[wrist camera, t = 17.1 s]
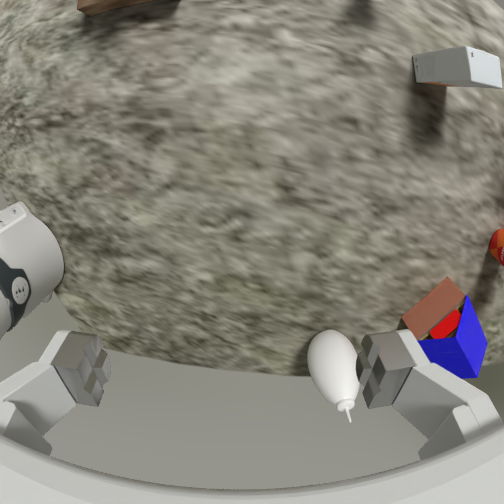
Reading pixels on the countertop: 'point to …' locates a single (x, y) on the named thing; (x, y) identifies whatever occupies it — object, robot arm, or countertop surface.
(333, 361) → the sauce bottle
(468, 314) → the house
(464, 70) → the skincare box
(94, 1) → the socket block
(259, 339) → the countertop surface
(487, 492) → the robot arm
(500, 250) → the paper cup
